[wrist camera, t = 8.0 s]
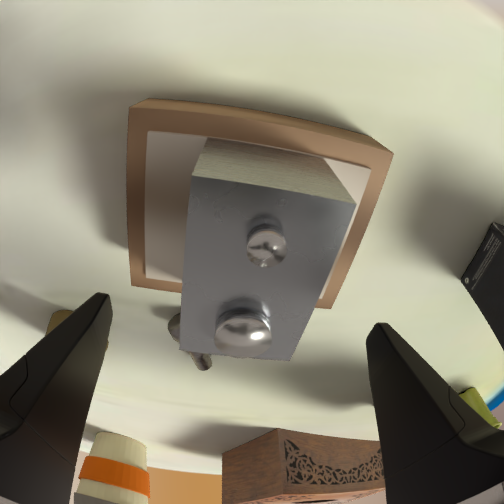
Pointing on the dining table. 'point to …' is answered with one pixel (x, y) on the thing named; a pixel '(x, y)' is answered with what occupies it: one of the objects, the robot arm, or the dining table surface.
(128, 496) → the reusable coffee cup
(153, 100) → the picture frame
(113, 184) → the dining table surface
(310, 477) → the tissue box cover
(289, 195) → the housing
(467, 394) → the plant pot
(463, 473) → the robot arm
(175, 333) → the loose bolt
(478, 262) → the small box
